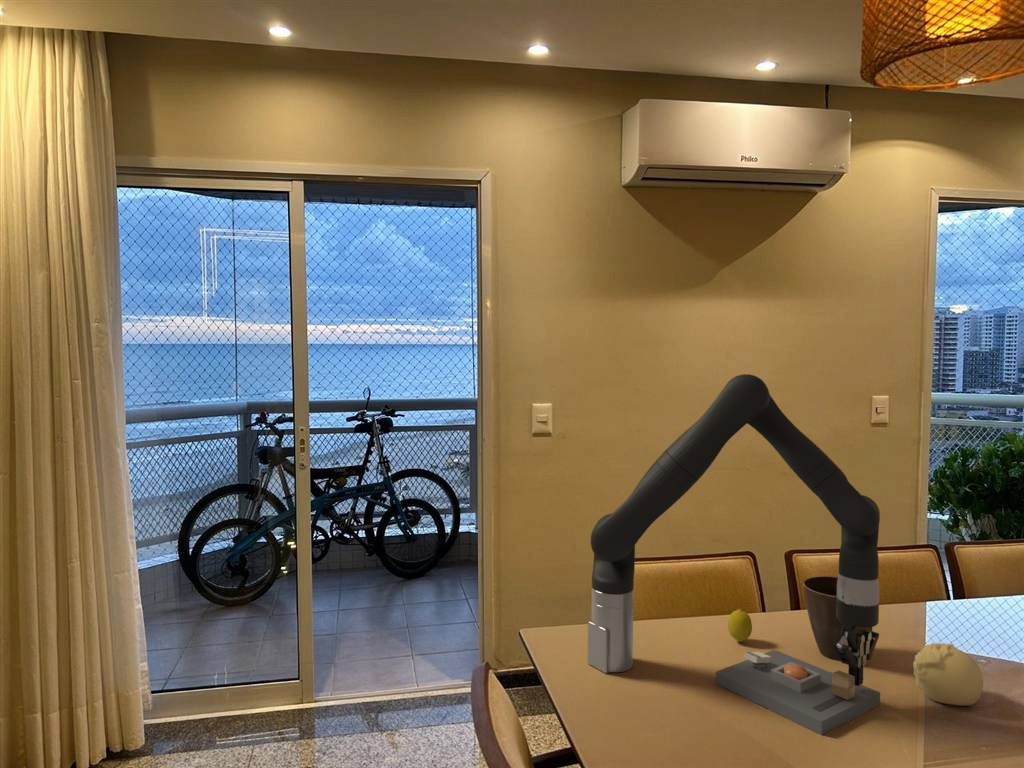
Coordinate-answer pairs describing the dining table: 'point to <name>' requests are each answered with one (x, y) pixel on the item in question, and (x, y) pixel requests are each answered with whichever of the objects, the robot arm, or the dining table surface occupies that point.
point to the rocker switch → (757, 657)
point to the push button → (795, 671)
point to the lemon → (739, 625)
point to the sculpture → (948, 675)
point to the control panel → (796, 692)
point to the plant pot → (823, 613)
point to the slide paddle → (843, 685)
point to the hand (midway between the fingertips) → (855, 683)
